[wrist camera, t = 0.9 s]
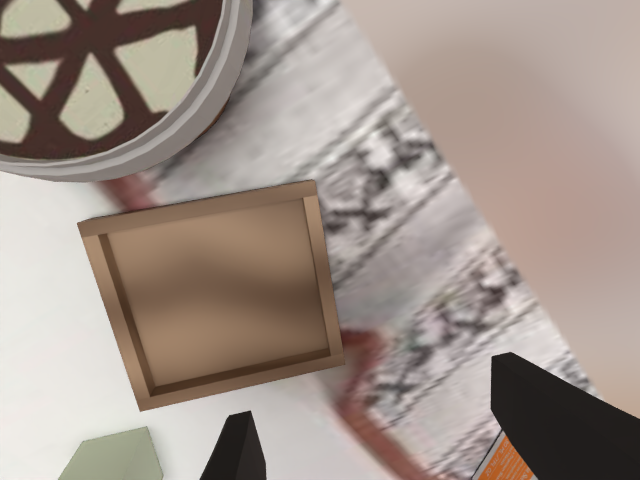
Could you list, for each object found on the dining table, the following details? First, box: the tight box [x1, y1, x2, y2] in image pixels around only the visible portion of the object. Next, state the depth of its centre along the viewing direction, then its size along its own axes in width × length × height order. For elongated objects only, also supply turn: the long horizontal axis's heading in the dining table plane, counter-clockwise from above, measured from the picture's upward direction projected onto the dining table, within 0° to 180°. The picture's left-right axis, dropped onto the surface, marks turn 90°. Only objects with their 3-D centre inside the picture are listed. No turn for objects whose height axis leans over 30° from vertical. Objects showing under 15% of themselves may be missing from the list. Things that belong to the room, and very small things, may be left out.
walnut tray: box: [77, 179, 345, 412], centre depth 21 cm, size 12×13×2 cm
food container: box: [0, 0, 253, 182], centre depth 14 cm, size 12×6×10 cm, turn 128°
